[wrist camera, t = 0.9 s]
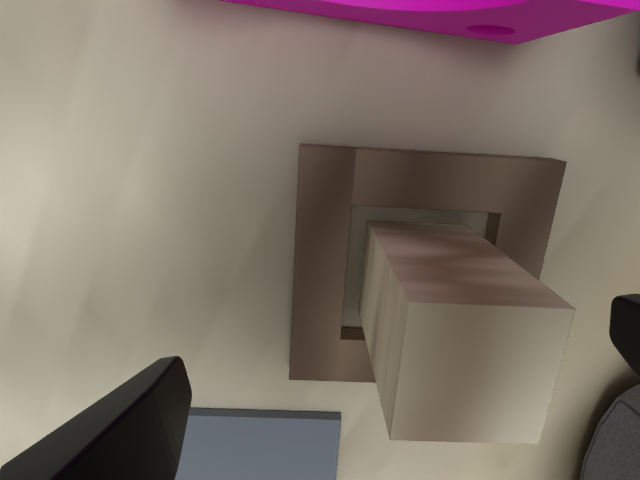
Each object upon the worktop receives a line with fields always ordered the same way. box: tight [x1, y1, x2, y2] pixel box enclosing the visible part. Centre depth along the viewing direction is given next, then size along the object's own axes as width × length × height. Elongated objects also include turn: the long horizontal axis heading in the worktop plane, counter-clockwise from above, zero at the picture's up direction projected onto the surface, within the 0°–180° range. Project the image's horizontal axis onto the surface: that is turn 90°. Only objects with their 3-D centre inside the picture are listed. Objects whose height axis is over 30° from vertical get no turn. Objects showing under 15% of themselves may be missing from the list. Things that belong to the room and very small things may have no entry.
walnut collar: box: [289, 144, 567, 383], centre depth 21 cm, size 12×12×1 cm
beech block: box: [359, 220, 575, 444], centre depth 18 cm, size 5×5×9 cm
